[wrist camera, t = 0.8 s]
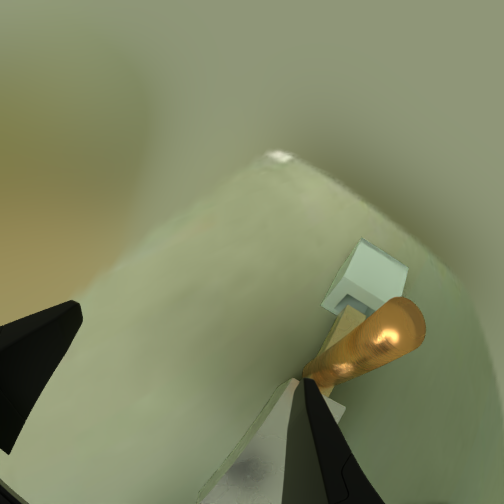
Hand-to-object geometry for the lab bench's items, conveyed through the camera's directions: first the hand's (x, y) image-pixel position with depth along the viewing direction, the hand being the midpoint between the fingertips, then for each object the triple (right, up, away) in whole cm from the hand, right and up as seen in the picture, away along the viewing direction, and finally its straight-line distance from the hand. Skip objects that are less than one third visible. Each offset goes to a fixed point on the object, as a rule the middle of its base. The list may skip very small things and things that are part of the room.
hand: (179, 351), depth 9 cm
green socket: (+14, -2, +19) cm, 24 cm away
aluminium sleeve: (+4, -14, +9) cm, 17 cm away
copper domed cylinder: (+7, -10, +11) cm, 16 cm away
